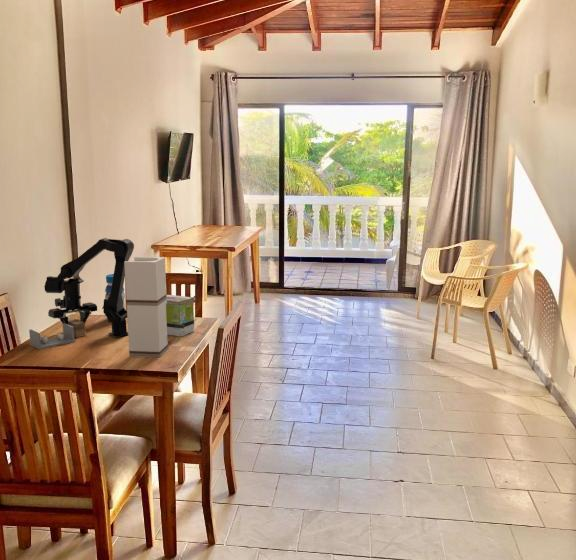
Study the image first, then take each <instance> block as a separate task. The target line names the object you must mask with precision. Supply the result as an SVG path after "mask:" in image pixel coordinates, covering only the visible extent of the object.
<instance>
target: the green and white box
mask: <svg viewBox="0 0 576 560" xmlns="http://www.w3.org/2000/svg"><path fill="white" fill-rule="evenodd" d="M166 295H167V303H166V319H167V336H176V337H184V336H186V335H189V334H191V333H193V332H195V311H194V297H193V296H185V295H184V296H183V295H173V294H166Z"/></svg>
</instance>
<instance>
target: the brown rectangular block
mask: <svg viewBox="0 0 576 560" xmlns="http://www.w3.org/2000/svg"><path fill="white" fill-rule="evenodd" d="M68 325H71V326H73V327H74V338H75V337H76V338H78V337H83V336H86V323H85V322H82V321H80V319H77V318H75V317H68Z"/></svg>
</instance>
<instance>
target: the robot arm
mask: <svg viewBox="0 0 576 560" xmlns="http://www.w3.org/2000/svg"><path fill="white" fill-rule="evenodd" d="M134 249H135V244H134V243H133V241H132V240H131V239H129V238H124V239H114V238H113V239H111V238H107V237H105V238H101V239H98V241H97V242H96V243H95V244H93V245H92V246H91V247H89V248H88V249H87V250H86V251H84V252H83V253H82V254H80V255H79V256H78V257H77V258H75V259H73V260H70V261H68V262H67V263H65V264H63V265H61V267H60V273H59V274H57V276H50V275H48V276H46V279H45V283H44V286H43V287H44V291H45V293H47V294H62V293H63V292H64V295H63V296H62V297H63V299H61V297H59V298H55V299H54V306H55V307H56V308H51V309H49V310H48V312H47V313H48V317H50V318H53V319H59V320H60V322H61V324H62V325H63V323H66V324H68V318H69V317H68V316H67V314H72V313H78V314H79V320H80V321H82V322H85V324H86V322H87V320H88V318H89V316H90V315H91V314H92V312H97V311H98V306H97V304H96V303H94V302H91V301H90V302H85V303H82V304H81V299H82V295H80V285H79V284H82V283H84V279H82V278H81V277H80V276H78V275H79V274H80V273H81V272H82V271H83V270H84V268H85V266H86V265H87V264H88V263H89V262H91V261H92V260H93V259H95V258H96V257H97V256H98V255H100V254H101V253H102V252H103V251H104V250H105V251H108V252H111V253H113V256H114V261H115V263H114V271H113V274H114V275H113V281H112V286H111V292H110V296H109V297H107V298H105V297H104V299H103V306H102V308H101V309H102V310H103V311H102V312H103V314H104V316H105V317H106V319H107V318H108V319H107V320H108V323H111V332H109V333H108V335H109V336H111V337H114V338H120V337H124V336H128V328H127V309H126V308H125V309H124V308H123V299H122V290H123V288H124V283H125V264H124V262H125V261H129V260H130V258H131V256H132V255H133V252H134ZM75 276H77V277H76V278H74V277H75ZM67 279H68V280H67Z"/></svg>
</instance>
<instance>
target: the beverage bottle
mask: <svg viewBox="0 0 576 560" xmlns="http://www.w3.org/2000/svg"><path fill="white" fill-rule="evenodd" d="M113 275H114V273H111V274H110V273H109V274H106V277H105V280H106V284H107V285H106V287H105V288H104V289H105V290H104V293H105V295H104V299H105V298H107V297H109V296H110V292H111V286H112V281H113ZM125 295H126V293H125V288H124V287H123V290H122V299H123V308H124V309H125V310H126V308H125V307H126V304H125V298H126V297H125ZM106 319H107V320H108V318H107V317H106Z"/></svg>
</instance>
